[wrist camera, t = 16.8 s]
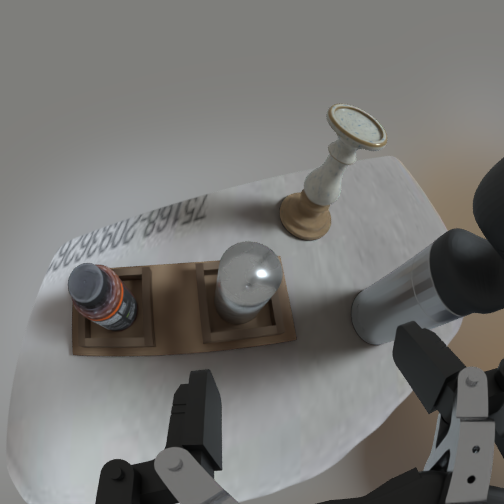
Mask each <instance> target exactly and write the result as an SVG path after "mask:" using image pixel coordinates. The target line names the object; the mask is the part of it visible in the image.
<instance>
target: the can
mask: <svg viewBox="0 0 504 504" xmlns="http://www.w3.org/2000/svg"><path fill="white" fill-rule="evenodd" d="M282 276H283V270H282V266H281V263H280V260H279V259H278V257H277V255H276V254H275V253H274V252H273V251H272V250H271V249H270V248H268V247H267V246H265V245H263V244H260V243H257V242H241V243H237V244H235V245H233V246H231V247H230V248H229V249H228V250H226V251H225V253H224V254H223V256H222V257H221V260H220V263H219V269H218V276H217V283H216V291H215V298H214V305H215V309H216V311H217V313H218V314H219V316H220V317H221V318H222V319H223V320H225V321H227V322H229V323H231V324H245V323H247V322H249V321H251V320H252V319H253V318H254V317H255V316H256V315H257V314H258V313H259V311H260V310H261V309H262V308H263V307H264V305H265V304H266V303H267V302H268V301H269V299H270V298H271V297H272V296H273V295H274V293H275V292H276V291H277V290H278V288H279V286H280V284H281V281H282Z"/></svg>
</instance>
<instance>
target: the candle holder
mask: <svg viewBox="0 0 504 504" xmlns="http://www.w3.org/2000/svg"><path fill="white" fill-rule="evenodd" d="M326 117H327V121H328V123H329V125H330V126H331V128H332V129H333V130H334V131H335V132H336V134H337V136H338V139H337V141H335V142H333V143H331V144H330V145H329V146H328V150H329V153H330V154H329V156H328V157H327V159H326V161H325V162H324V164H323V165H322V166H320V167H319V168H317V169H315V170H313V171H312V172H311V173H310V174H309V175H308V176H307V177H306V179H305V181H304V189H303V190H302V192H301V193H294V194H291V195H289V196H287V197H286V198H285V199H284V200H283V202H282V204H281V207H280V219H281V221H282V223H283V225H284V227H285V228H286V229H287V230H288V231H289V232H290V233H291V234H293V235H294V236H296V237H298V238H301V239H304V240H316V239H319V238H321V237H322V236H324V235H325V234H326V233H327V232H328V230H329V228H330V226H331V215H330V212H329V210H328V209H329V207H330V204H333V203H334V202H336V201H337V199H338V198H339V196H340V193H341V187H342V175H343V173H344V171H345V169H346V168H347V166H348V165H351V164H354V163H355V162H356V151H357V150H358V149H365V150H369V151H379V150H381V149H383V148H384V147H385V145H386V143H387V134H386V131H385V130H384V128H383V127H382V125H381V124H380V123H379V122H378V121H377V120H376V119H375V118H374V117H372V116H371V115H370V114H368V113H367V112H365V111H363V110H361V109H359V108H357V107H355V106H351V105H348V104H335V105H333V106H331V107H330V108H329V109H328V111H327V114H326Z"/></svg>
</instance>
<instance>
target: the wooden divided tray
mask: <svg viewBox="0 0 504 504" xmlns="http://www.w3.org/2000/svg"><path fill="white" fill-rule="evenodd" d="M277 257H278V259H279V260H280V263H281V266H282V262H281V258H280V256H277ZM219 263H220V261H207V262H192V263H178V264H164V265H149V266H134V267H119V268H110V269H111V270H113V271H114V272H115V273H116V274H117V276H118V277H119V278H120V279H121V281H122V282H123V283H124V284H125V285H126V287H127V288H128V289H129V290H130V291H131V293H132V294H133V295H134V297H135V299H136V301H137V304H138V314H137V317H136V320H135V321H134V323H133V324H132V325H131V326H130V327H129V328H127V329H126V330H123V331H112V330H109V329H107V328H105V327H103V326H101V325H99V324H97V323H95V322H93V321H91V320H89V319H87V318H86V317H84V316H83V315H81V314H80V313H79V312H78V311H77V309H76V308H75V306H74V304H73V308H72V347H73V355H79V356H154V355H174V354H189V353H201V352H212V351H222V350H231V349H239V348H247V347H254V346H262V345H268V344H275V343H281V342H287V341H293V340H296V339H297V338H296V333H295V327H294V322H293V317H292V312H291V307H290V302H289V297H288V292H287V287H286V282H285V277H284V272H283V276H282V281H281V284H280V286H279V288H278V290H277V291H276V292H275V293H274V295H273V296H272V297H271V298H270V299H269V301H268V302H267V303H266V304H265V305H264V307H263V308H262V309H261V310H260V311H259V313H258V314H257V315H256V316H255V317H254V318H253V319H252V320H251V321H249V322H247V323H245V324H231V323H229V322H227V321H225V320H223V319H222V318H221V317H220V316H219V314H218V313H217V311H216V309H215V305H214V298H215V291H216V283H217V276H218V269H219ZM282 270H283V267H282Z"/></svg>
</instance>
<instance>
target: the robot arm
mask: <svg viewBox="0 0 504 504" xmlns="http://www.w3.org/2000/svg"><path fill="white" fill-rule="evenodd" d="M473 213H474V217H475V220H476V222H477V224H478V226H479V228H480V229H481V231H482V233H483V234H484V236H485V237H486V239H483V238H481V237H479V236H477V235H475V234H473V233H471V232H469V231H466V230H464V229H458V228H457V229H452V230H449V231H447V232H446V233H444V234H443V235H442V236H440V237H439V238H438V239H437V240H435V241H434V242H433V243H432V244H430V245H429V246H428V247H426V248H425V249H424V250H422V251H421V252H419V253H418V254H417V255H415V256H414V257H413V258H411V259H410V260H408V261H407V262H405V263H404V264H403V265H401V266H400V267H398V268H397V269H395V270H394V271H392V272H391V273H389V274H388V275H386V276H385V277H383V278H382V279H380V280H379V281H377V282H375V283H374V284H372V285H371V286H369V287H368V288H366V289H364V290H363V291H362V292H360V293H359V294H358V295H357V297H356V298H355V300H354V302H353V305H352V313H351V316H352V322H353V325H354V328H355V330H356V332H357V333H358V335H359V336H360V337H361V338H362V339H363V340H364V341H366V342H368V343H370V344H374V345H380V344H384V343H388V342H391V341H394V346H393V359H394V362H395V364H396V366H397V367H398V369H399V370H400V371H401V373H402V374H403V376H404V377H405V379H406V380H407V382H408V383H409V385H410V386H411V388H412V389H413V391H414V392H415V394H416V395H417V397H418V398H419V400H420V401H421V403H422V404H423V406H424V407H425V409H426V410H427V412H428V414H430V413H432V412H434V411H436V410H438V411H439V415H438V420H437V426H436V432H435V437H434V442H433V447H432V451H431V454H430V457H429V459H428V461H427V463H426V465H425V468H424V471H421V472H418V470H417V468H414V469H411V470H410V471H407V472H405V473H403V474H401V475H399V476H397V477H395V478H392V479H390V480H389V481H387V482H386V483H384V484H383V485H381V486H380V487H379V488H377V489H375V490H374V491H372V492H370V493H369V494H367V495H366V496H363V497H359V498H350V499H340V500H329V501H325V502H321V503H317V504H504V488H500V487H495V486H490V485H489V483H490V477H491V470H492V462H493V453H494V442H495V444H496V445H497V447H498V449H499V451H500V452H501V454H502V456H503V458H504V359H502V360H501V362H500V364H499V366H498V368H496V369H492V370H489V371H486V372H483V371H482V370H481V369H479V368H477V367H466V366H465V365H464V364H463V363H462V362H461V361H460V359H459V358H458V357H457V356H456V355H455V354H454V353H453V352H452V351H451V350H450V349H449V347H446V344H445V343H444V342H443V341H441V339H440V338H439V337H438V336H437V335H436V334H435V333H434V332H432V331H430V329H433V328H435V327H438V326H441V325H444V324H446V323H449V322H451V321H454V320H457V319H459V318H462V317H464V316H467V315H469V314H471V313H481V314H487V313H492V312H495V311H498V310H501V309H503V308H504V158H503V159H501V160H500V161H499V162H498V163H497V164H496V165H495V166H494V167H493V168H492V169H491V170H490V171H489V172H488V173H487V174H486V175H485V177H484V178H483V179H482V181H481V182H480V184H479V186H478V188H477V190H476V192H475V195H474V199H473ZM220 470H222V405H221V397H220V393H219V391H218V388H217V386H216V383H215V381H214V378H213V376H212V373H211V371H210V370H209V369H206V370H198V371H191V373H190V378H189V384H181V385H180V386H179V388H178V389H177V391H176V392H175V394H174V399H173V407H172V410H171V416H170V423H169V429H168V436H167V442H166V447H165V449H164V450H163V451H161V452H160V453H159V454H158V455H157V457H156V459H154V460H151V461H148V462H143V463H138V464H134V465H130V464H129V463H128V462H126V461H125V460H121V459H114V460H111V461H109V462H107V463H106V464H105V465H104V466H103V468H102V470H101V474H100V479H99V485H98V490H97V496H96V503H95V504H176V503H180V504H240V503H238V502H237V501H236V500H235V499H234V498H233V497H232V496H231V495H230V494H229V493H227V492H226V491H225V490H224V489H223V488H222V487H221V486H220V485H219V484H218V483H217V482H216V481H215V480H214V471H220Z"/></svg>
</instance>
